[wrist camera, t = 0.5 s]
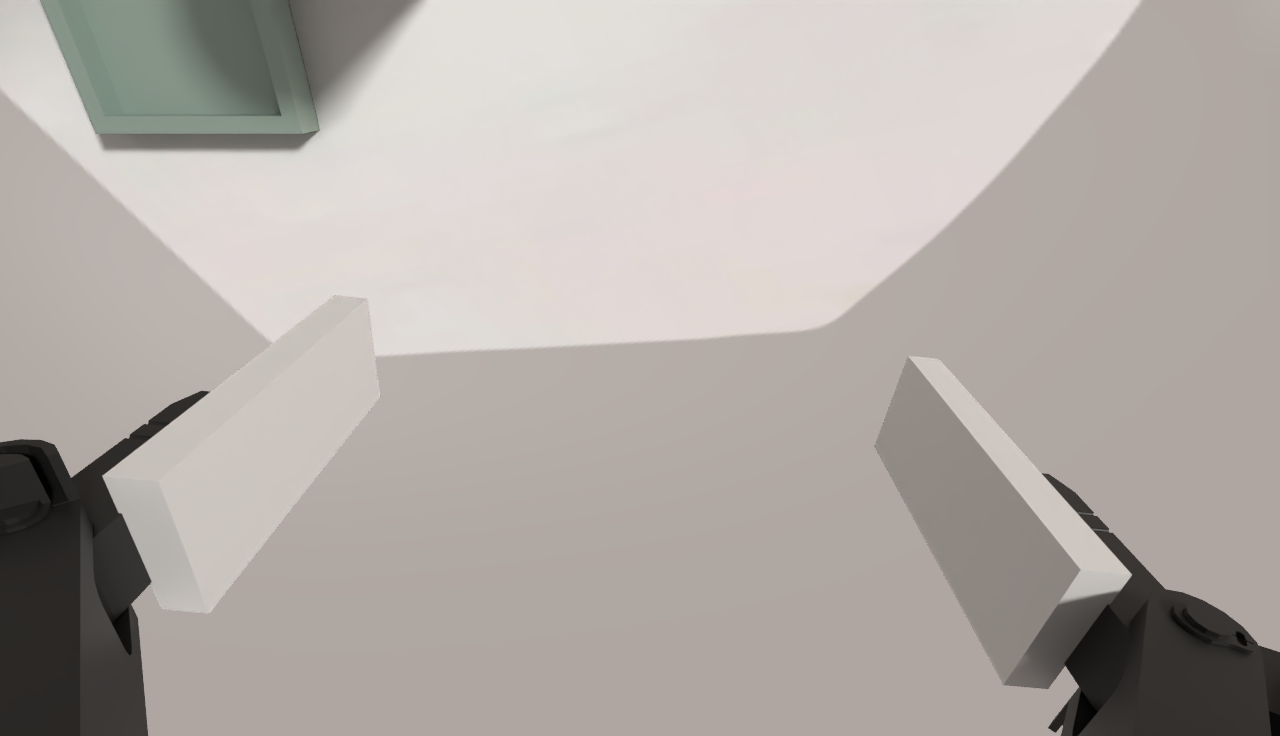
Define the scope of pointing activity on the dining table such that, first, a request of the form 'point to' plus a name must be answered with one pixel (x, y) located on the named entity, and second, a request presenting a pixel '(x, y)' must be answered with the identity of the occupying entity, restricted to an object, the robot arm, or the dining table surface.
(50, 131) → the dining table surface
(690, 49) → the dining table surface
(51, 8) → the tray
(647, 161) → the dining table surface
